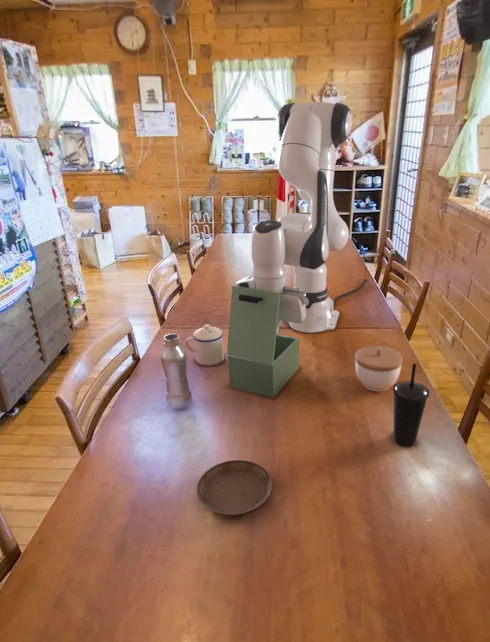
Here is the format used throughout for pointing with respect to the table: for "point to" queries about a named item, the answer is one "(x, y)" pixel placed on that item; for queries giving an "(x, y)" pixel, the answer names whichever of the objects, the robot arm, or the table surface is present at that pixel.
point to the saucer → (234, 487)
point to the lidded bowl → (378, 367)
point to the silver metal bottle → (175, 373)
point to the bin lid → (253, 324)
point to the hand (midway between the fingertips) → (270, 331)
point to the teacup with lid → (207, 345)
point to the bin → (266, 369)
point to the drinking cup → (408, 409)
